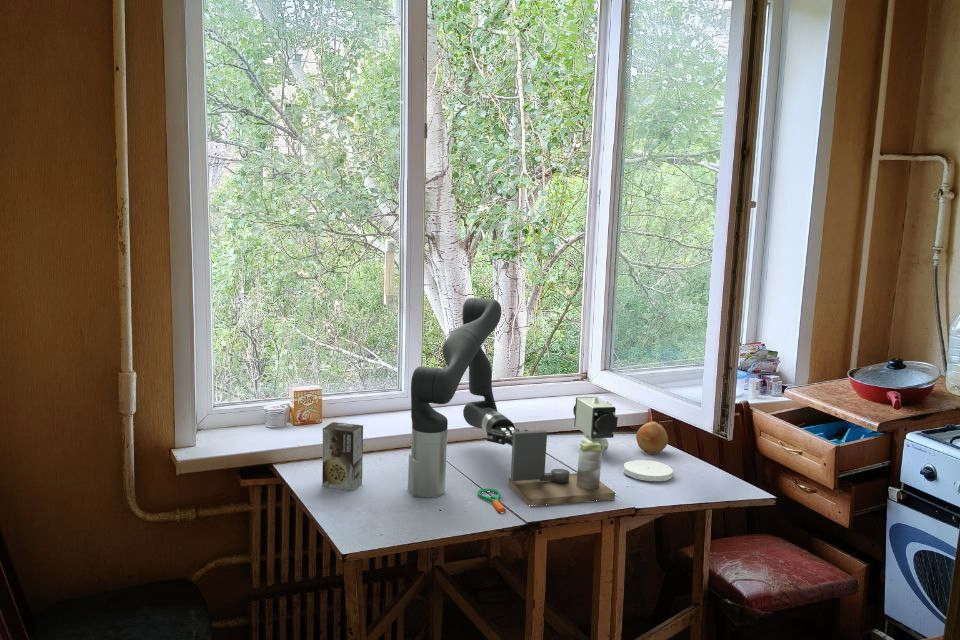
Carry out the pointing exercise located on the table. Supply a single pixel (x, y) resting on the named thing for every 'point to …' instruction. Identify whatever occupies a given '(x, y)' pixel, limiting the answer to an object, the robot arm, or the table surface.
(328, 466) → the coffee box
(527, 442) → the grey panel with handle
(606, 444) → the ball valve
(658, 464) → the plastic lid
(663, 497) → the table surface
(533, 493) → the base
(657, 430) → the onion
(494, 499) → the magnifying glass
